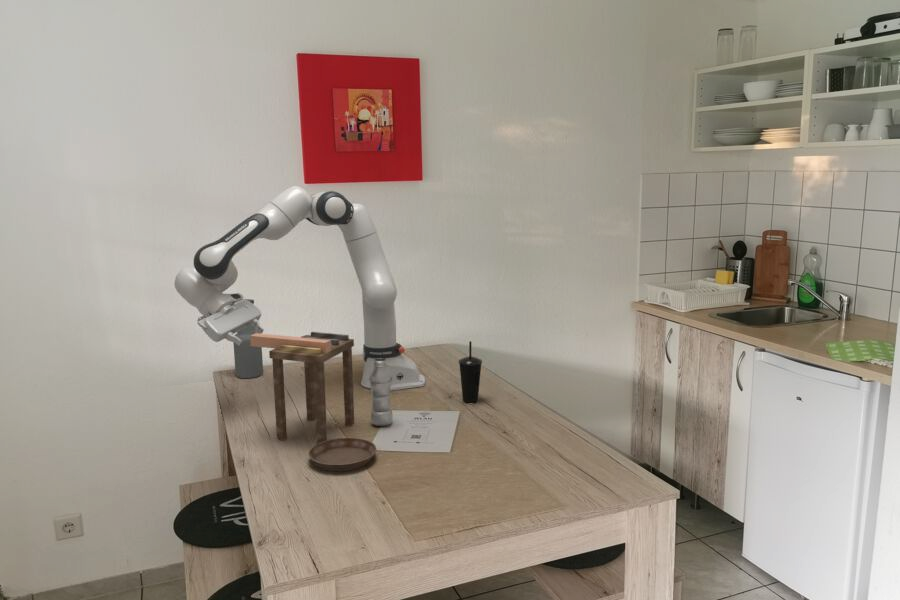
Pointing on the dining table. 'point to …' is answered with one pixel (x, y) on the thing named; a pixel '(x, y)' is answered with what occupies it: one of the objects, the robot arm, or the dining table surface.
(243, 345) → the water bottle
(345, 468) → the plant saucer
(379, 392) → the plastic bottle
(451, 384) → the dining table surface
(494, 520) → the dining table surface
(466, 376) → the drinking cup
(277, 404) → the walnut stool
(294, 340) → the terracotta bar
